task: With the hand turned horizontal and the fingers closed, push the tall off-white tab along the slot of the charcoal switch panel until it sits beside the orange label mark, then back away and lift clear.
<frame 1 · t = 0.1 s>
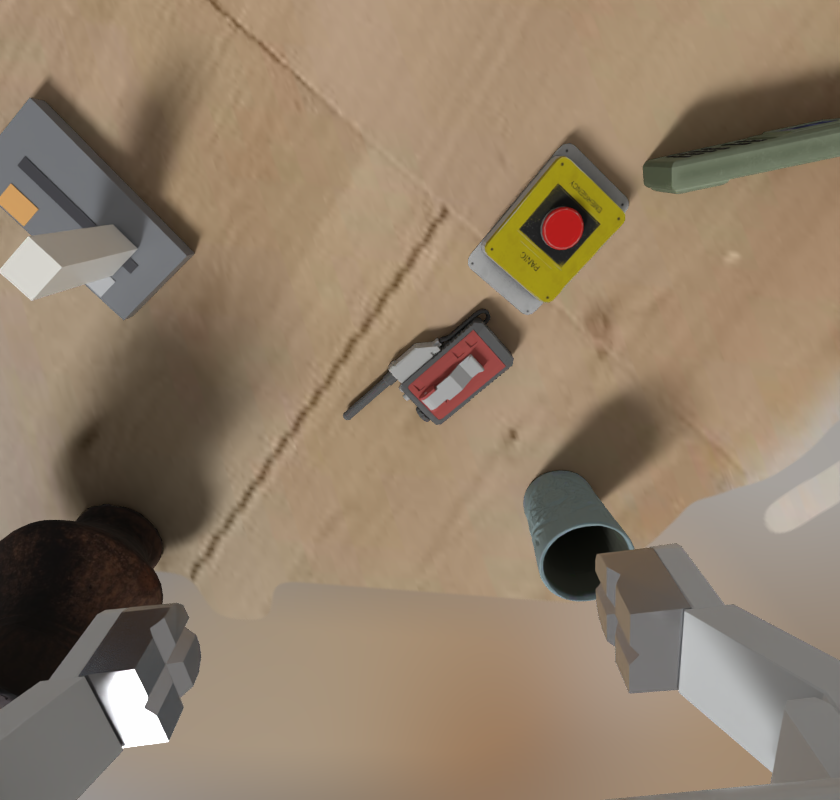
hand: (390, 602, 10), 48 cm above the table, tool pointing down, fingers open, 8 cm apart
switch tab: (76, 258, 46), point 8 cm above the table, slide at 0.0 cm
grey-green cup: (558, 499, 66), on the table
walkie-talkie: (428, 378, 60), on the table
switch panel: (92, 216, 53), on the table
handheld radio: (771, 148, 51), on the table
jug: (112, 539, 68), on the table
emergency button: (544, 233, 54), on the table
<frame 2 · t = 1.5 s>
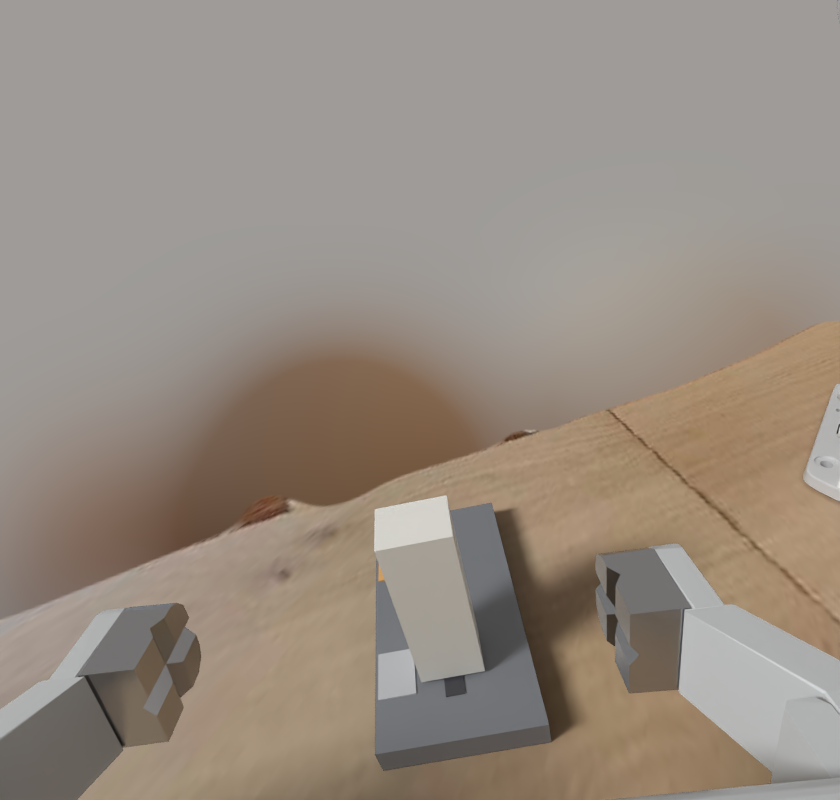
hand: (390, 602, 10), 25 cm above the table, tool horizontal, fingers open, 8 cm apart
switch tab: (433, 594, 31), point 8 cm above the table, slide at 0.0 cm
switch panel: (449, 620, 39), on the table
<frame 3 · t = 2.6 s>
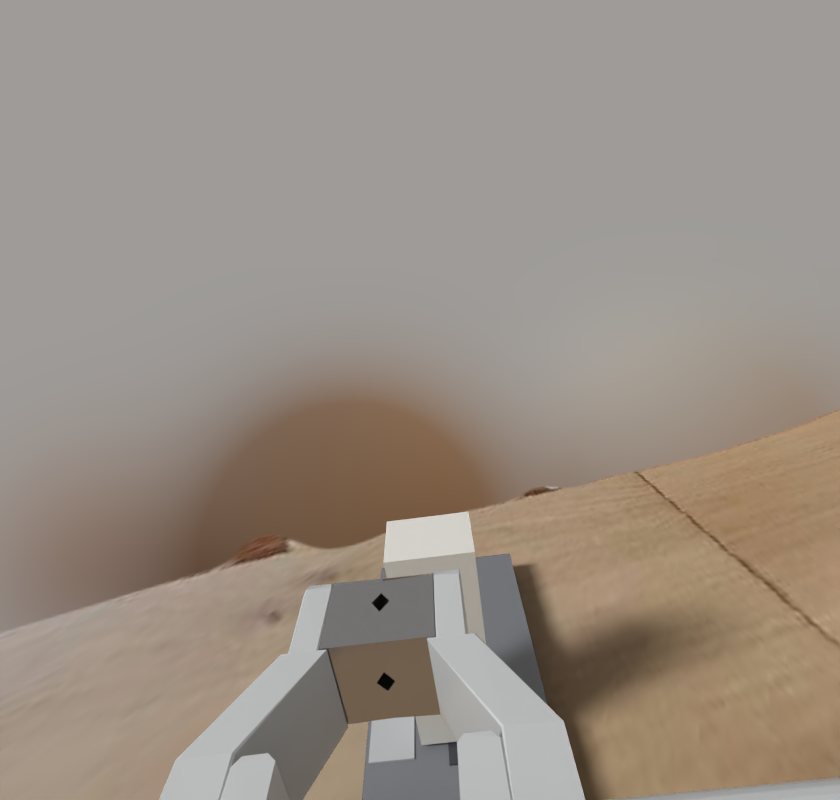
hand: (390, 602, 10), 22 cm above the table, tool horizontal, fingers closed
switch tab: (443, 632, 27), point 8 cm above the table, slide at 0.0 cm
switch panel: (456, 680, 34), on the table
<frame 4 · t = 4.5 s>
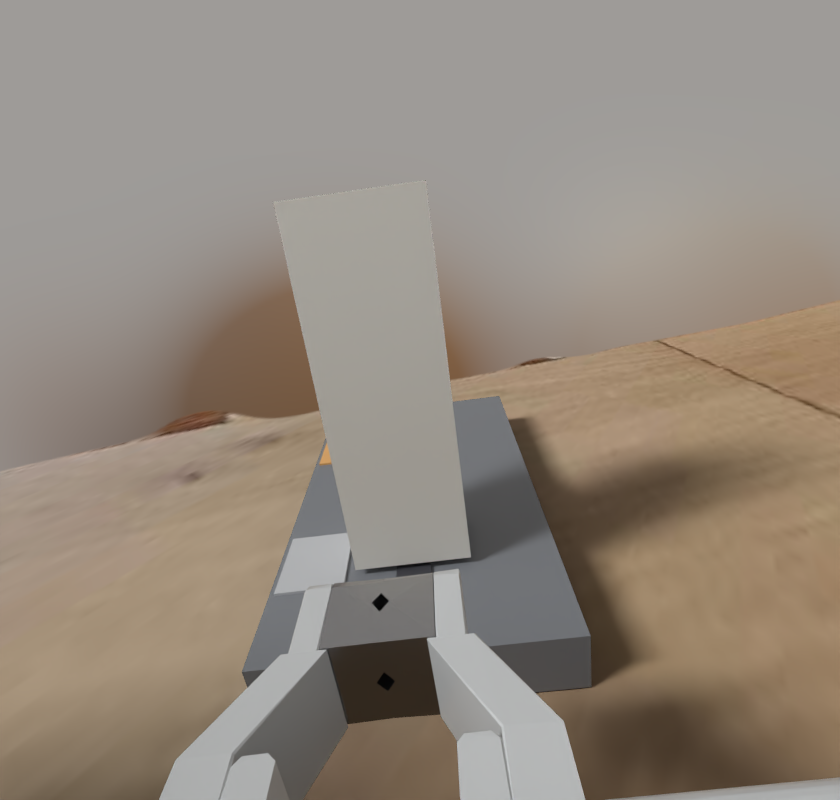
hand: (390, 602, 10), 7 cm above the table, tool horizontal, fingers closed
switch tab: (388, 386, 17), point 8 cm above the table, slide at 0.0 cm
switch panel: (420, 523, 24), on the table
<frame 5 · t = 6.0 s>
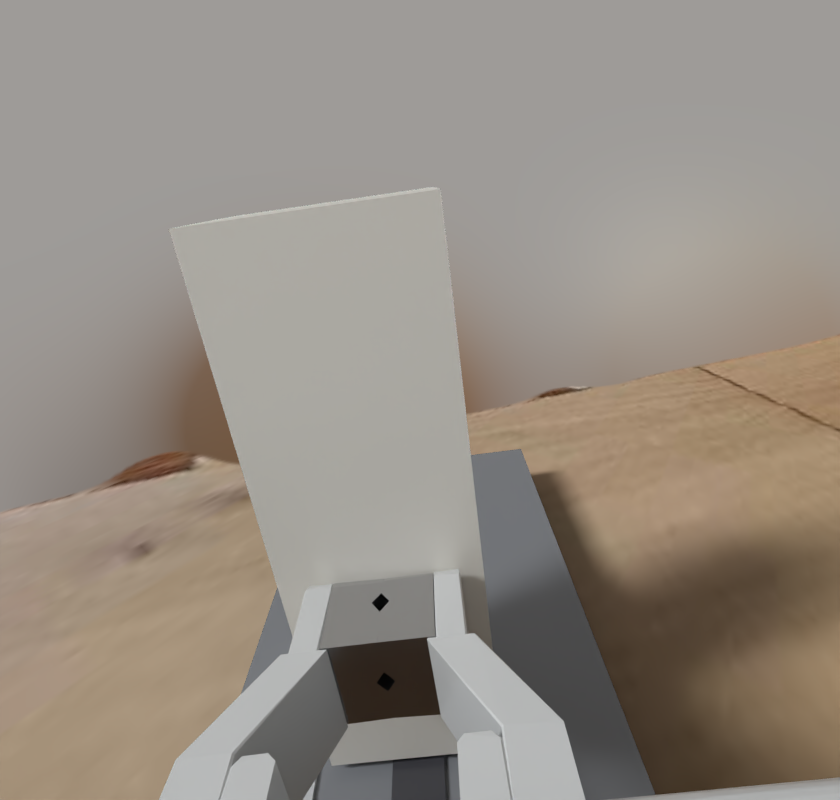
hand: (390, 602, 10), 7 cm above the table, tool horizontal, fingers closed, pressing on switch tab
switch tab: (378, 501, 11), point 8 cm above the table, slide at 0.1 cm, touching gripper
switch panel: (426, 642, 18), on the table
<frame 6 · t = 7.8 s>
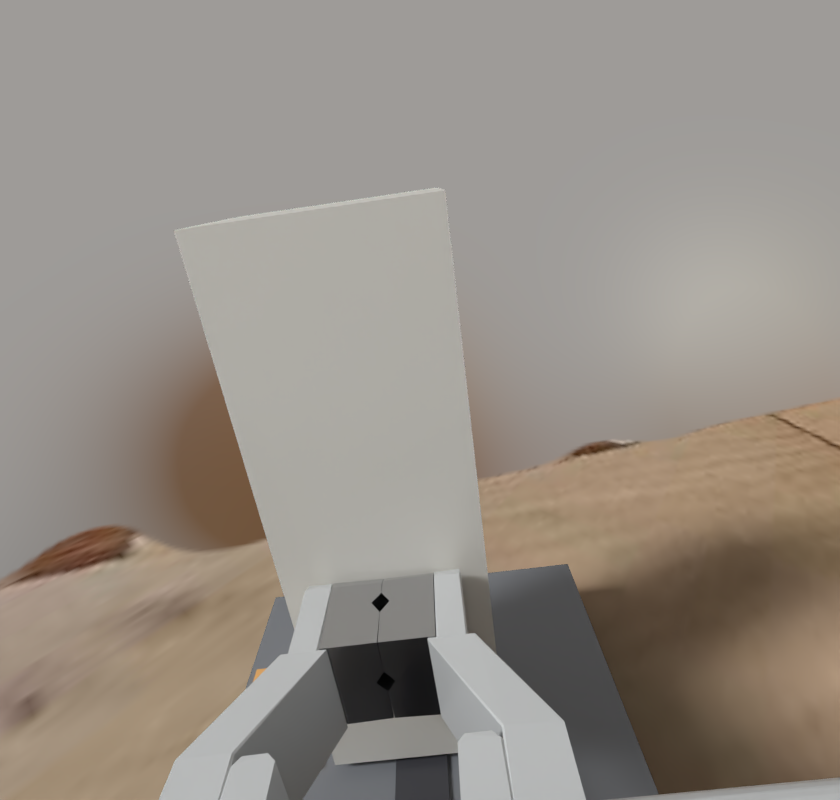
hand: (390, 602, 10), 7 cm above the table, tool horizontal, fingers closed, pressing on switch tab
switch tab: (381, 501, 11), point 8 cm above the table, slide at 8.4 cm, touching gripper
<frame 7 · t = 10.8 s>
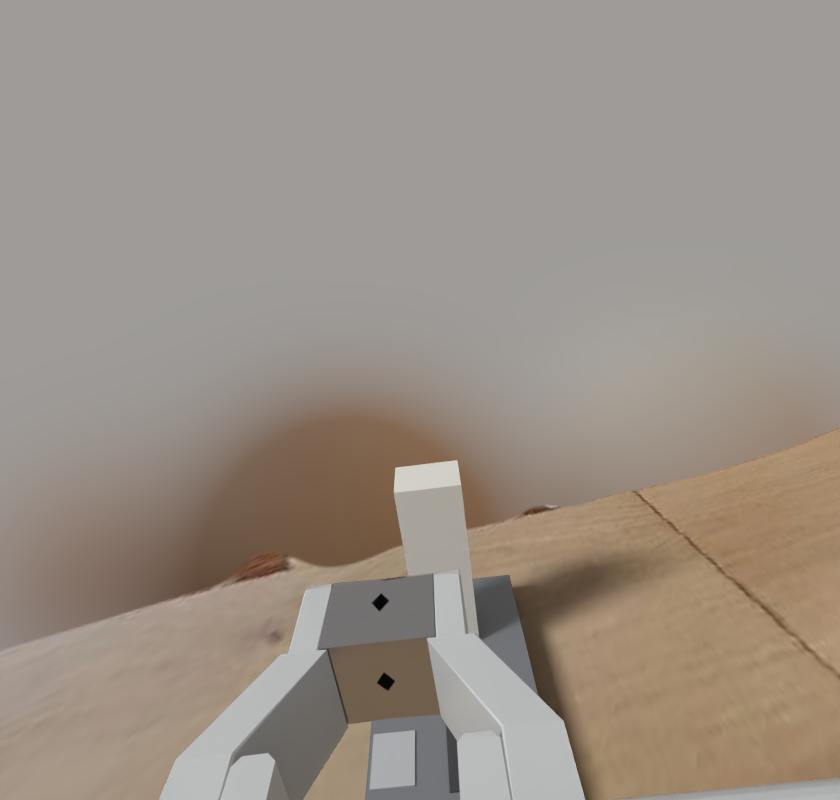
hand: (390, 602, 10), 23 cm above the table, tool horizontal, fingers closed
switch tab: (438, 554, 35), point 8 cm above the table, slide at 8.4 cm
switch panel: (456, 704, 34), on the table
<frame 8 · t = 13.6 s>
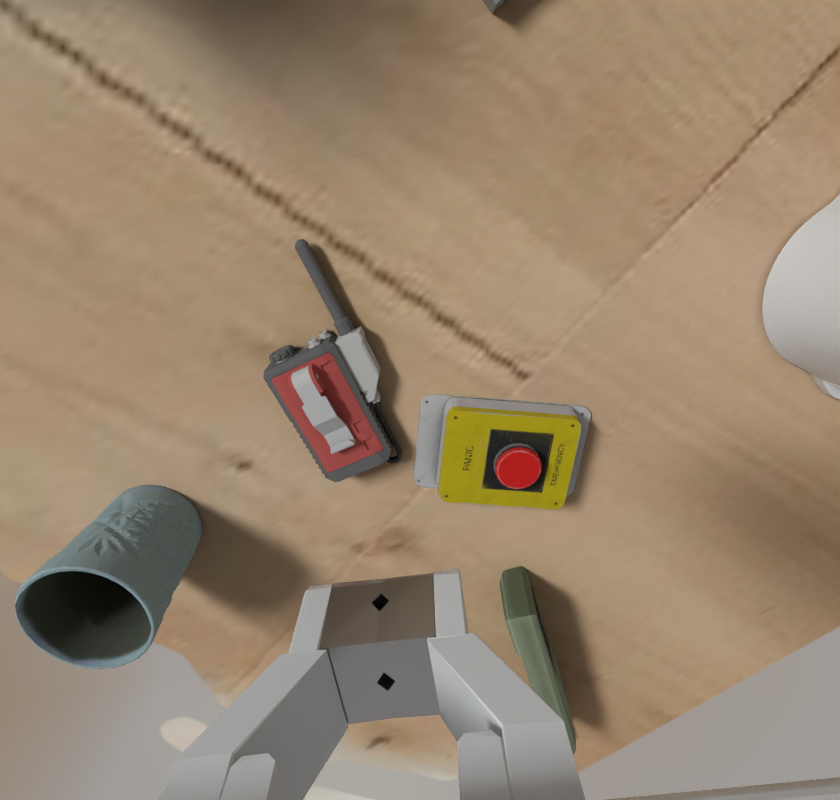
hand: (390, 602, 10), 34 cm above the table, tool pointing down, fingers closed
grey-green cup: (157, 523, 51), on the table
walkie-talkie: (327, 366, 45), on the table
handheld radio: (538, 653, 58), on the table
emergency button: (498, 443, 48), on the table
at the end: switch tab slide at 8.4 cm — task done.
